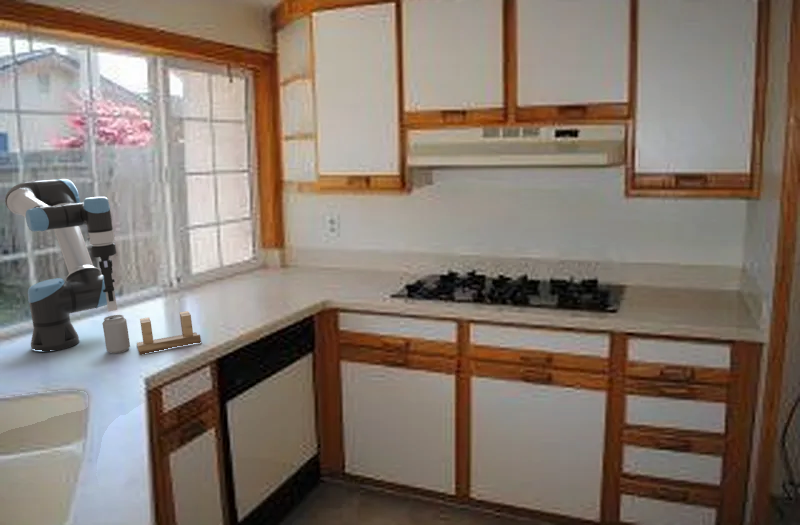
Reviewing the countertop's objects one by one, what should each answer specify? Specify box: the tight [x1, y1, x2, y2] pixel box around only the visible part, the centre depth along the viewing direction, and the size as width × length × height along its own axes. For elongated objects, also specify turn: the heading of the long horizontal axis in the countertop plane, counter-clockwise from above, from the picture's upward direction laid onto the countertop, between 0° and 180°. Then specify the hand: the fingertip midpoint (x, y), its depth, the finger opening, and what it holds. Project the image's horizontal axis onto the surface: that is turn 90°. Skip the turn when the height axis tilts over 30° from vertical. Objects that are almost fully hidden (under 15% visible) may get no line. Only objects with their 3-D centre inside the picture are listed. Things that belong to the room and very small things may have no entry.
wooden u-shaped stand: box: [136, 310, 202, 356], centre depth 222 cm, size 12×20×10 cm, turn 115°
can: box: [102, 314, 131, 354], centre depth 219 cm, size 8×8×12 cm
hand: (112, 306), depth 217 cm, fingers open, 13 cm apart
